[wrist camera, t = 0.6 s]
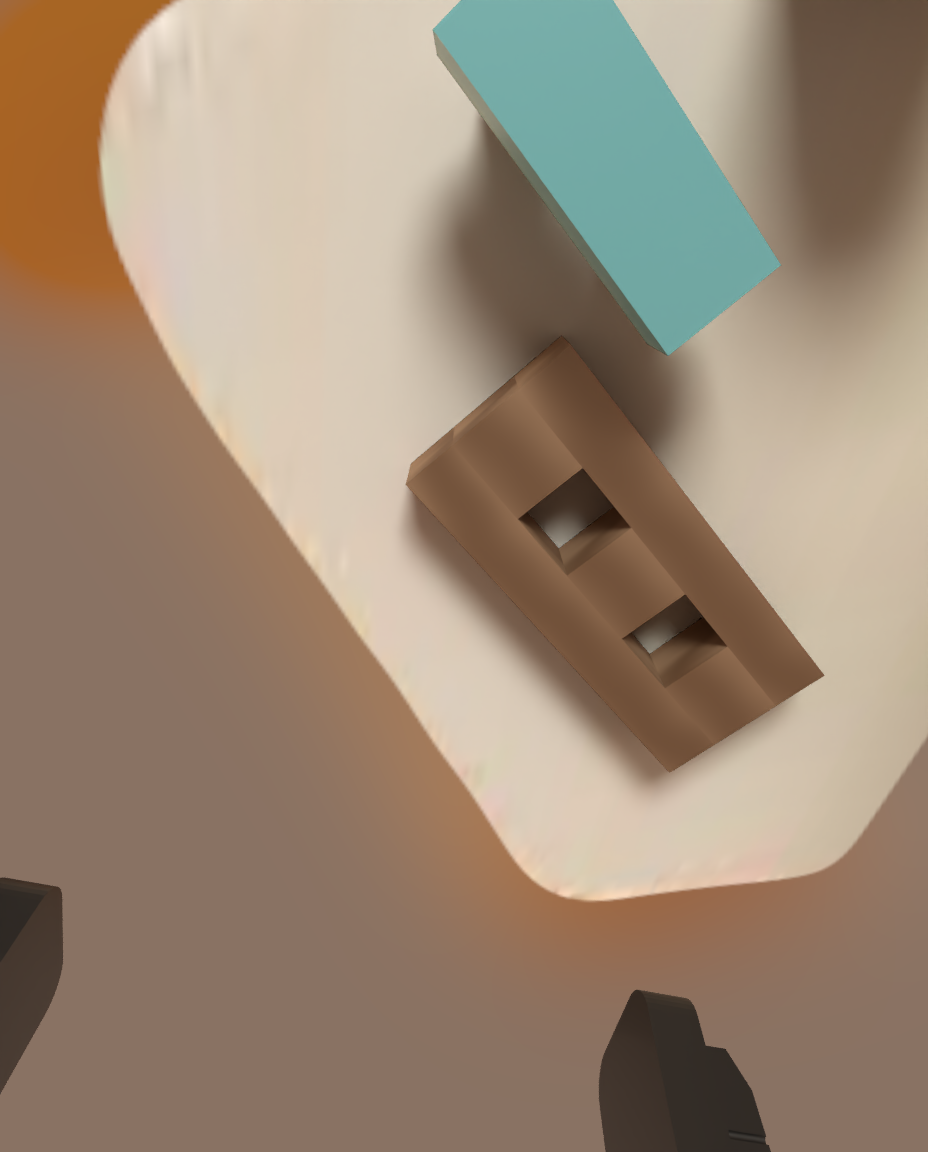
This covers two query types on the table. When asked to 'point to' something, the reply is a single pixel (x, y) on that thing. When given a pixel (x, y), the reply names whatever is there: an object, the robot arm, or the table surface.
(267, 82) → the table surface
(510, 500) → the board
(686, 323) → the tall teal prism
